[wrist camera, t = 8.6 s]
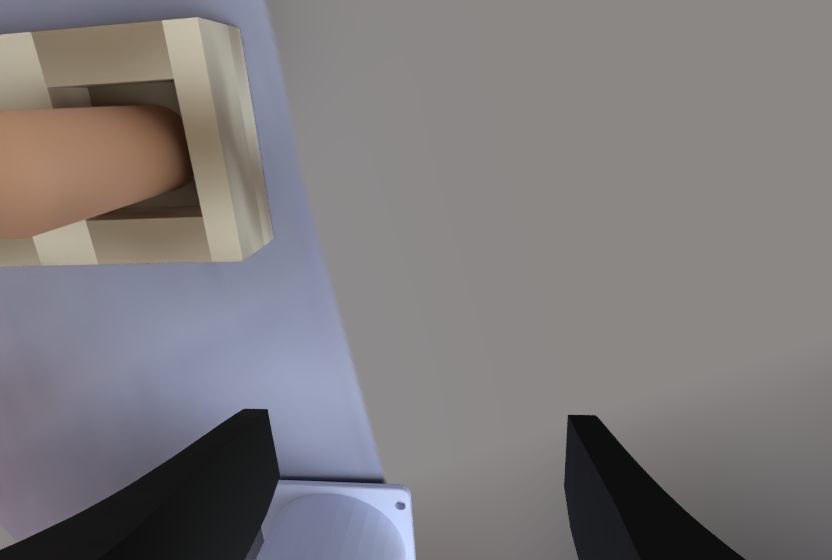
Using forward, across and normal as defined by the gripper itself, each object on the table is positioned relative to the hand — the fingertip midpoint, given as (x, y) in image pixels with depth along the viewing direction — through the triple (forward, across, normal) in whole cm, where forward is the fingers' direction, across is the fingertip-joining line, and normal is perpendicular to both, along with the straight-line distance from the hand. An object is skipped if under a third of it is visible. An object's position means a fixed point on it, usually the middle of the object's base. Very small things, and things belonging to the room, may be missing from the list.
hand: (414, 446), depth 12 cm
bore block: (+10, +14, -6) cm, 18 cm away
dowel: (+9, +10, -6) cm, 15 cm away
